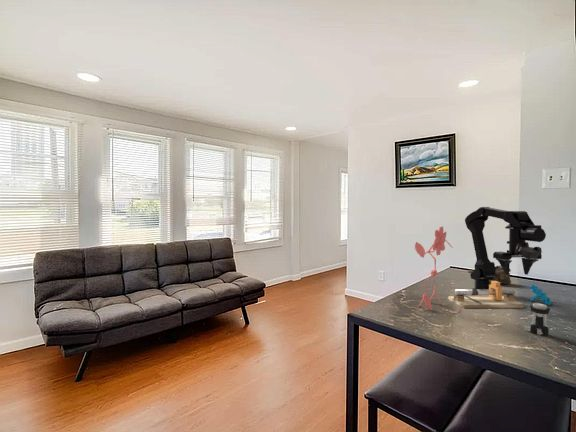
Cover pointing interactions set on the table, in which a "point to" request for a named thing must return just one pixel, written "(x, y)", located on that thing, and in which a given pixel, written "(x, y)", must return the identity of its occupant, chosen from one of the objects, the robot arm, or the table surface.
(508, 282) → the brown carved figurine
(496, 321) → the table surface
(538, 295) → the gear
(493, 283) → the collar
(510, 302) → the tube stand
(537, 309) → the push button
